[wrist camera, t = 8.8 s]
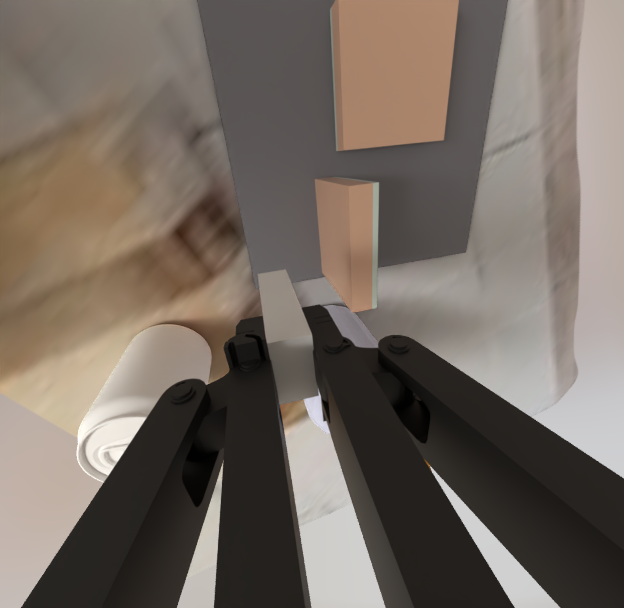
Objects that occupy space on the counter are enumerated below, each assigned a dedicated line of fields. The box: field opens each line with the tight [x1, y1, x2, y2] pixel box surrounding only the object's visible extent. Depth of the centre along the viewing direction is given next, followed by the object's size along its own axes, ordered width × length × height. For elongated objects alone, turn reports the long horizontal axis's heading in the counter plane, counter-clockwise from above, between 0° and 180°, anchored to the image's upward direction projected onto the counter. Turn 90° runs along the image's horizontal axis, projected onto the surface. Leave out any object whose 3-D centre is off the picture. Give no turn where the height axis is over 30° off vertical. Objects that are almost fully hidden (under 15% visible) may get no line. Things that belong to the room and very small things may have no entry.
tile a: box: [330, 0, 459, 151], centre depth 22 cm, size 2×9×9 cm
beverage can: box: [76, 324, 212, 483], centre depth 25 cm, size 8×8×12 cm
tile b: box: [315, 177, 379, 313], centre depth 24 cm, size 2×9×9 cm, turn 5°
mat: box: [197, 0, 508, 289], centre depth 26 cm, size 24×22×1 cm
